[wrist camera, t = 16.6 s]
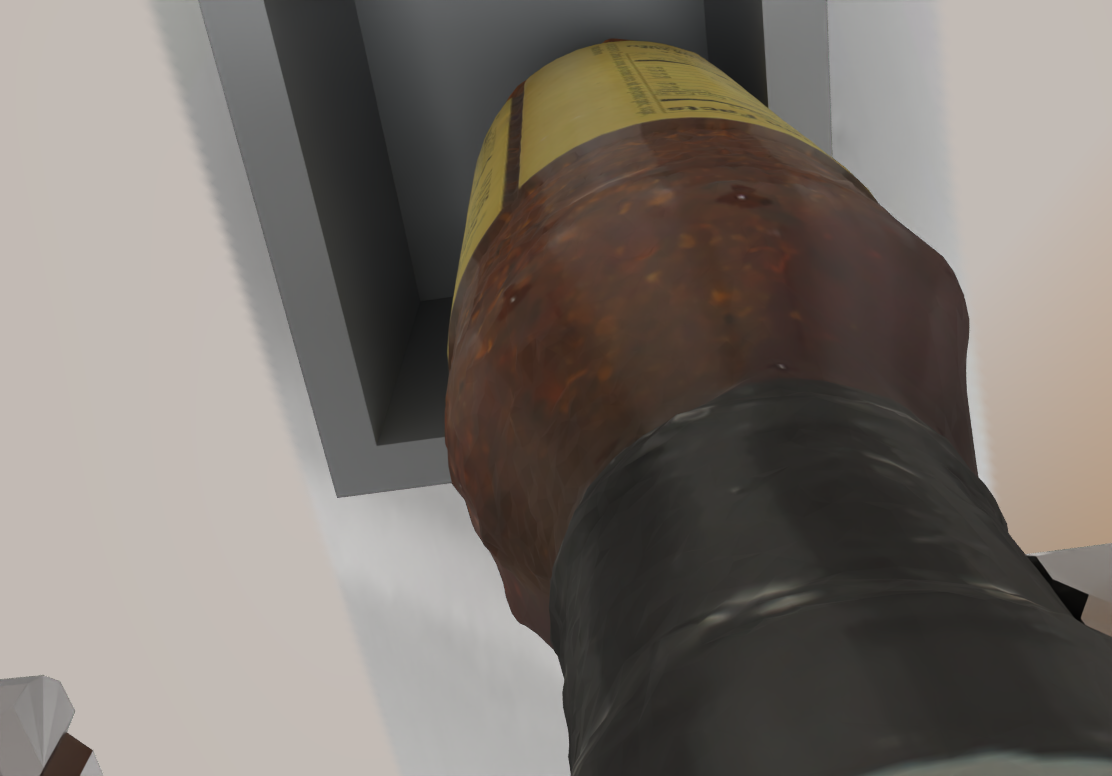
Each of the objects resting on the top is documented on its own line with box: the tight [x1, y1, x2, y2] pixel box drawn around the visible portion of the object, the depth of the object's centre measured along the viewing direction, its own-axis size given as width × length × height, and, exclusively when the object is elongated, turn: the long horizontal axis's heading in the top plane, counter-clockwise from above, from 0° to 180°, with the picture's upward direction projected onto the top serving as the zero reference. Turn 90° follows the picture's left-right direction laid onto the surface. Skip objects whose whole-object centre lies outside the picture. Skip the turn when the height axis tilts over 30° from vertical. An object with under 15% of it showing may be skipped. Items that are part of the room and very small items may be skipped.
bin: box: [198, 0, 832, 498], centre depth 26 cm, size 12×12×10 cm
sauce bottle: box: [445, 38, 1112, 776], centre depth 14 cm, size 6×6×20 cm
